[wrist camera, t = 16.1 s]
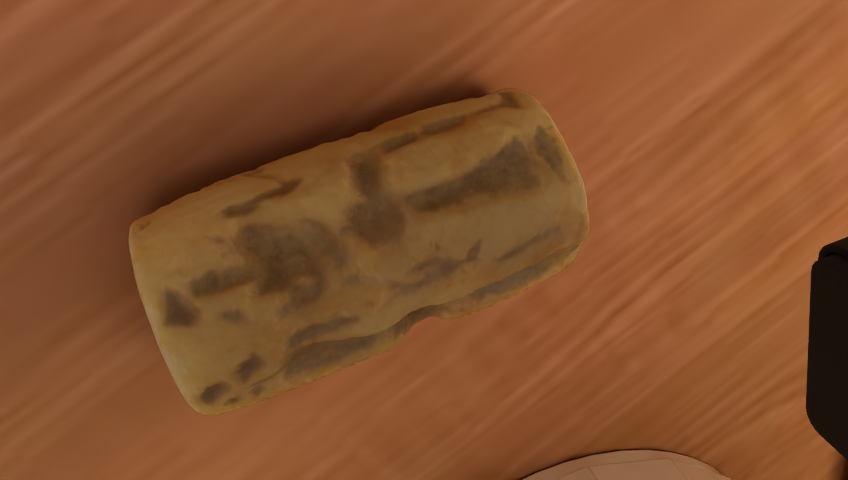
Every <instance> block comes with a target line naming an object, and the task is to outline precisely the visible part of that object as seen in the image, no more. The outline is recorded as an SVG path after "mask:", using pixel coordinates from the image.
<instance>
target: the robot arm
mask: <svg viewBox="0 0 848 480" xmlns="http://www.w3.org/2000/svg"><path fill="white" fill-rule="evenodd" d="M806 411H807V415H808V418H809V420H810V422H811V424H812V425H813V427H814V428H815V430H816V431H817V432H818V433H819V434H820V435H821V436H822V437H823V438H824V439H825V440H826V441H827V442H828V443H829V444H830V445H831V446H833V447H834V448H835V449H836V450H837V451H838V452H839V453H840V454H841V455H842V456H843V457H844V458H846V459H847V460H848V237H846V238H843V239H841V240H838V241H836V242H833V243H831V244H828V245H826V246H824V247H823V248H822V249H821V251H820V252H819V257H818V261H816V262H815V263H814V264H813V266H812V270H811V292H810V317H809V343H808V368H807V394H806Z"/></svg>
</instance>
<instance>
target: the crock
mask: <svg viewBox="0 0 848 480" xmlns="http://www.w3.org/2000/svg"><path fill="white" fill-rule="evenodd" d="M522 480H732V479H730V478H728V477H726V476H724V475H723V474H722V473H720V472H719V471H717V470H716V469H714V468H713V467H712V466H710V465H708V464H705V463H703V462H701V461H699V460H696V459H694V458H692V457H688V456H684V455H680V454H676V453H672V452H665V451H655V450H625V451H615V452H609V453H602V454H596V455H591V456H587V457H583V458H579V459H576V460H572V461H568V462H564V463H562V464H559V465H556V466H553V467H551V468H548V469H545V470H543V471H540V472H537V473H535V474H533V475H531V476H528V477H526V478H524V479H522Z"/></svg>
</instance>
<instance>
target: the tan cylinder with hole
mask: <svg viewBox="0 0 848 480" xmlns="http://www.w3.org/2000/svg"><path fill="white" fill-rule="evenodd" d="M588 233H589V213H588V208H587V198H586V193H585V188H584V182H583V179H582V177H581V175H580V172H579V170H578V168H577V165H576V163H575V160H574V158H573V156H572V155H571V153H570V151H569V149H568V147H567V145H566V143H565V141H564V139H563V137H562V135H561V134H560V132H559V131H558V128H557V126H556V125H555V123H554V121H553V120H552V118H551V116H550V115H549V113H548V112H547V111H546V110H545V109H544V108H543V107H542V105H541V104H540V103H539V102H538V100H537V99H536V98H535V97H534V96H532V95H530V94H528V93H526V92H524V91H522V90H519V89H516V88H508V89H501V90H499V91H497V92H494V93H492V94H488V95H486V96H483V97H480V98H469V99H464V100H461V101H458V102H452V103H447V104H442V105H439V106H435V107H431V108H427V109H424V110H420V111H417V112H414V113H411V114H408V115H405V116H402V117H400V118H397V119H394V120H391V121H388V122H385V123H383V124H381V125H379V126H377V127H376V128H374V129H372V130H371V131H368V132H361V133H358V134H356V135H354V136H352V137H349V138H343V139H340V140H338V141H334V142H330V143H323V144H320V145H318V146H317V147H314V148H312V149H308V150H305V151H301V152H299V153H296V154H292V155H290V156H286V157H283V158H281V159H278V160H276V161H274V162H271V163H268V164H265V165H263V166H260V167H258V168H257V169H255V170H253V171H247V172H244V173H240V174H237V175H235V176H232V177H229V178H227V179H224V180H220V181H218V182H215V183H213V184H212V185H210V186H208V187H204V188H202V189H201V190H200V191H198V192H193V193H190V194H187V195H185V196H183V197H182V198H179V199H177V200H175V201H173V202H172V203H170V204H168V205H166V206H163V207H160V208H159V209H158V210H156V211H155V212H153V213H152V214H149V215H147V216H144V217H141V218H139V219H137V220H135V221H134V222H133V223H132V224H131V226H130V230H129V249H130V255H131V259H132V264H133V270H134V276H135V280H136V283H137V287H138V291H139V294H140V298H141V300H142V303H143V306H144V308H145V312H146V315H147V317H148V320H149V322H150V325H151V328H152V330H153V334H154V337H155V339H156V342H157V344H158V346H159V348H160V351H161V354H162V356H163V358H164V360H165V362H166V365H167V367H168V369H169V371H170V373H171V375H172V377H173V379H174V381H175V383H176V385H177V387H178V389H179V390H180V392H181V394H182V396H183V397H184V399H185V400H186V401H187V402H188V404H189V405H190V406H191V407H192V408H193V409H194V410H195V411H197V412H199V413H201V414H204V415H217V414H221V413H225V412H229V411H231V410H234V409H236V408H241V407H247V406H249V405H252V404H253V403H255V402H258V401H262V400H264V399H269V398H271V397H274V396H277V395H279V394H281V393H283V392H285V391H287V390H291V389H295V388H297V387H298V386H300V385H303V384H305V383H307V382H309V381H315V380H316V379H318V378H320V377H324V376H325V375H327V374H329V373H333V372H336V371H339V370H341V369H343V368H345V367H348V366H350V365H353V364H354V363H357V362H360V361H363V360H365V359H368V358H370V357H372V356H376V355H378V354H382V353H384V352H387V351H389V350H391V349H392V348H393V347H395V346H396V345H398V344H399V343H400V342H401V341H402V340H403V338H404V336H405V335H406V334H407V332H408V331H409V330H410V328H411V327H412V326H413V325H415V324H416V323H418V322H420V321H422V320H423V319H425V318H427V317H429V316H436V317H439V318H442V319H447V320H450V319H458V318H461V317H465V316H468V315H471V314H473V313H474V312H478V311H480V310H482V309H484V308H486V307H490V306H492V305H494V304H495V303H498V302H499V301H502V300H505V299H507V298H509V297H511V296H513V295H516V294H518V293H519V292H521V291H522V290H525V289H527V288H529V287H530V286H531V285H532V284H536V283H538V282H540V281H542V280H544V279H547V278H549V277H551V276H553V275H555V274H557V273H559V272H560V271H562V270H564V269H565V268H567V267H568V266H569V265H570V264H571V263H572V262H573V261H574V259H575V258H576V256H577V253H578V251H579V247H580V246H581V245H582V243H583V241H584V240H585V239H586V238H587V236H588Z"/></svg>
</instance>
